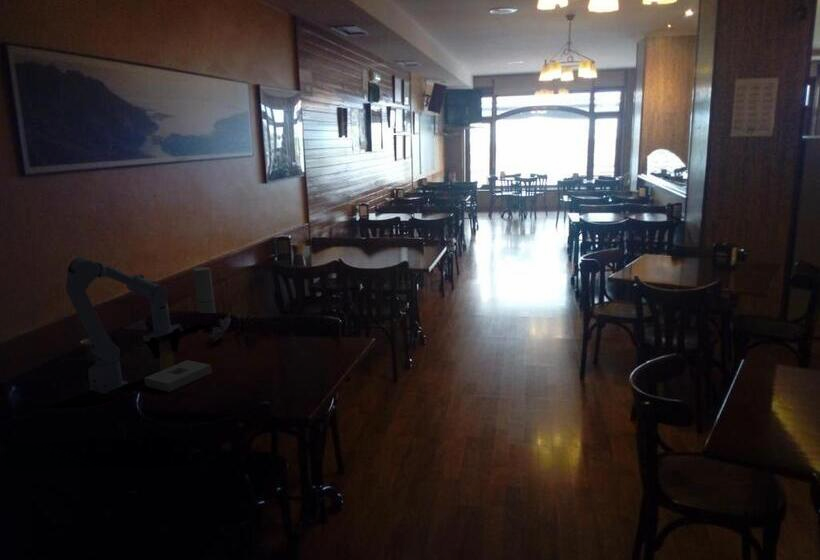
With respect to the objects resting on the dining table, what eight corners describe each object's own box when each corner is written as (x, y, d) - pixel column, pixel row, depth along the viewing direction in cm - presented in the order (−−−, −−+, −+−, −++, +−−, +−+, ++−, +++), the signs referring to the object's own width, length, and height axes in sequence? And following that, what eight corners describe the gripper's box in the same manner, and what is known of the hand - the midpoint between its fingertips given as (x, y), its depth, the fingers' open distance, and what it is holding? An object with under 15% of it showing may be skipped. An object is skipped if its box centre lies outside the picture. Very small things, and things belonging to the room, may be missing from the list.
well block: (169, 392, 202) (168, 383, 201) (145, 386, 208) (144, 377, 207) (212, 372, 217) (211, 364, 217) (188, 367, 223) (187, 359, 223)
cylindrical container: (218, 321, 280) (212, 266, 274) (214, 325, 273) (207, 270, 267) (202, 321, 280) (195, 267, 274) (198, 326, 273) (190, 271, 267)
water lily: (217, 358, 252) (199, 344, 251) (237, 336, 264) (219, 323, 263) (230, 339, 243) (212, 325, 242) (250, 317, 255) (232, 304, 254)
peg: (167, 371, 221) (165, 355, 219) (160, 370, 222) (158, 354, 221) (175, 368, 223) (173, 352, 222) (168, 366, 225) (166, 351, 224)
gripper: (150, 325, 210) (156, 362, 214) (185, 313, 223) (190, 349, 226) (137, 322, 214) (143, 360, 217) (171, 311, 226) (176, 346, 229)
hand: (166, 354), depth 222 cm, fingers open, 7 cm apart
